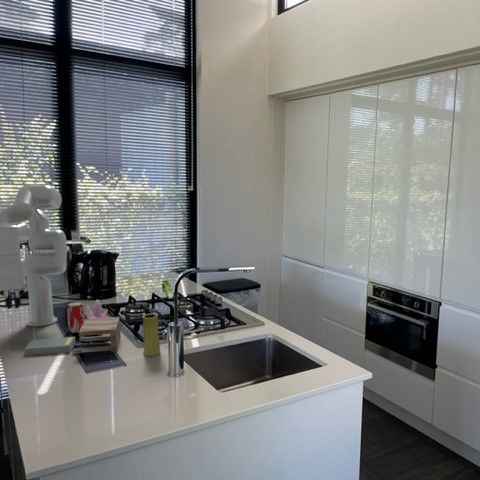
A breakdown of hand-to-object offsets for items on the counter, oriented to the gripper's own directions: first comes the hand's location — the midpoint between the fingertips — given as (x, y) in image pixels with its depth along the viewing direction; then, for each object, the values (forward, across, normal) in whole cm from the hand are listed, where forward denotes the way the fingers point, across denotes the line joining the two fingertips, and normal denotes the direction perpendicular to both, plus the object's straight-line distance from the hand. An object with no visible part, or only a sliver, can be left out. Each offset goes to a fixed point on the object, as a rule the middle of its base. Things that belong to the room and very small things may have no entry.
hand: (13, 307), depth 168 cm
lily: (+17, +25, +29) cm, 42 cm away
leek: (+18, +58, +76) cm, 97 cm away
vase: (+17, +50, -13) cm, 54 cm away
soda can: (+17, +18, +20) cm, 32 cm away
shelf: (+17, +29, 0) cm, 34 cm away
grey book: (+17, +12, 0) cm, 21 cm away
